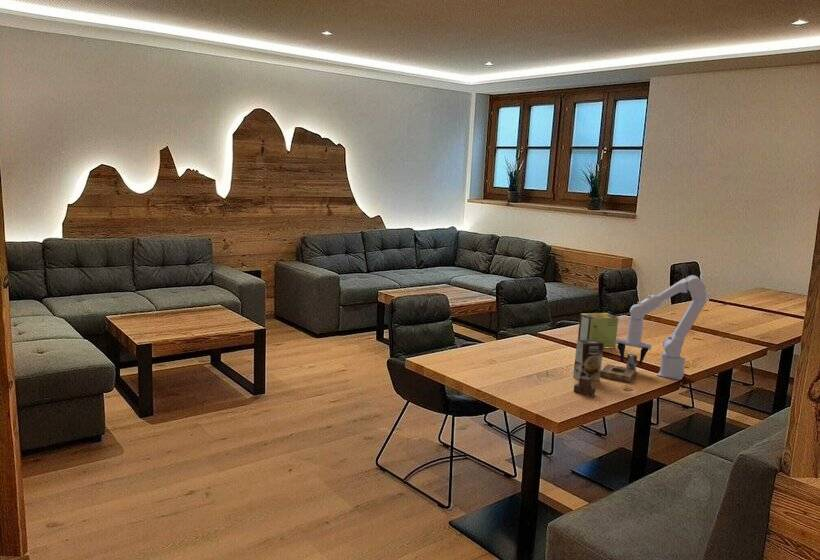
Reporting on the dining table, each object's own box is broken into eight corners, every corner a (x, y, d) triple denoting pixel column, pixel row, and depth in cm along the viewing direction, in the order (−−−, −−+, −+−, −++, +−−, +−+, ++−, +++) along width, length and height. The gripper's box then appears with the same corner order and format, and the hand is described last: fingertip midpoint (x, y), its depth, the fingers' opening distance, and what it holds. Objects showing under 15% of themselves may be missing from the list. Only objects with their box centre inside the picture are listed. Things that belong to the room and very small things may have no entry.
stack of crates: (611, 394, 249) (613, 377, 248) (594, 403, 238) (596, 386, 237) (576, 384, 259) (578, 368, 258) (558, 393, 248) (559, 376, 247)
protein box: (615, 348, 313) (619, 317, 310) (587, 349, 309) (590, 318, 306) (604, 342, 323) (607, 312, 320) (576, 343, 319) (579, 313, 316)
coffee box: (580, 381, 261) (584, 343, 258) (572, 376, 267) (576, 339, 264) (600, 380, 263) (604, 343, 260) (592, 375, 269) (595, 338, 266)
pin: (636, 370, 279) (638, 355, 277) (634, 373, 275) (636, 357, 274) (626, 368, 281) (628, 353, 279) (624, 371, 277) (626, 355, 276)
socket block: (635, 375, 272) (635, 369, 272) (629, 382, 262) (629, 377, 262) (606, 369, 278) (607, 364, 278) (599, 376, 268) (600, 371, 268)
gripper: (654, 333, 275) (650, 363, 277) (619, 327, 282) (616, 357, 284) (651, 336, 269) (647, 367, 271) (616, 330, 276) (612, 360, 278)
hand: (631, 362), depth 277 cm, fingers open, 7 cm apart
